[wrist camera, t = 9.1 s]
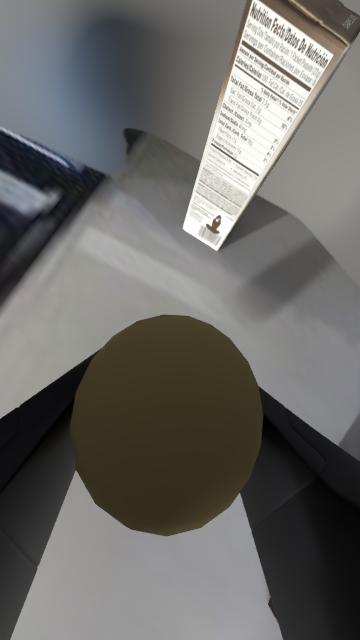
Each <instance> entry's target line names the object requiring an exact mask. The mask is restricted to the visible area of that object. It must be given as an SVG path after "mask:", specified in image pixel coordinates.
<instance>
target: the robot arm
mask: <svg viewBox="0 0 360 640" xmlns="http://www.w3.org/2000/svg"><path fill="white" fill-rule="evenodd" d="M101 349H102V348H101ZM101 349H100V350H101ZM100 350H98V351H97V352H95V353H94V354H93V355H91V356H90V357H88V358H87V359H85V360H84V361H83V362H81V363H80V364H78V365H77V366H75V367H74V368H73V369H71V370H70V371H68V372H67V373H65V374H64V375H63V376H61V377H60V378H58V379H57V380H55V381H54V382H53V383H51V384H50V385H48V386H47V387H45V388H44V389H43V390H41V391H40V392H38V393H37V394H35V395H34V396H33V397H31V398H30V399H28V400H27V401H25V402H24V403H23V404H21V405H20V406H19V408H18V407H17V408H15V409H14V410H12V411H11V412H10V413H8V414H7V415H5V416H4V417H2V418H1V419H0V640H10V638H11V636H12V633H13V631H14V628H15V626H16V623H17V620H18V618H19V615H20V613H21V610H22V607H23V605H24V602H25V600H26V597H27V595H28V592H29V589H30V587H31V584H32V582H33V579H34V576H35V574H36V571H37V567H38V565H39V563H40V561H41V558H42V555H43V553H44V550H45V548H46V545H47V543H48V540H49V537H50V535H51V532H52V530H53V527H54V524H55V522H56V519H57V517H58V514H59V512H60V509H61V506H62V504H63V501H64V499H65V496H66V493H67V491H68V488H69V486H70V483H71V481H72V478H73V475H74V473H75V470H76V467H75V460H74V454H73V448H72V441H71V435H70V425H71V419H72V413H73V407H74V400H75V394H76V391H77V389H78V387H79V384H80V382H81V380H82V378H83V376H84V374H85V372H86V370H87V368H88V366H89V364H90V362H91V360H92V359H93V358H94V357H95V355H96V354H97V353H98V352H99V351H100ZM259 392H260V398H261V404H262V411H263V425H262V437H261V447H260V450H259V453H258V456H257V459H256V462H255V464H254V467H253V470H252V473H251V476H250V478H249V480H248V481H247V483H246V484H245V486H244V487H243V488H242V490H241V491H240V494H241V497H242V500H243V504H244V507H245V511H246V514H247V517H248V521H249V524H250V528H251V530H252V535H253V538H254V542H255V545H256V549H257V552H258V555H259V559H260V562H261V566H262V569H263V572H264V576H265V579H266V583H267V586H268V589H269V593H270V596H271V599H272V603H273V606H274V610H275V613H276V616H277V620H278V623H279V627H280V630H281V633H282V637H283V640H360V461H358V460H357V459H355V458H354V457H353V456H351V455H350V454H348V453H347V452H345V451H344V450H343V449H341V448H340V447H338V446H337V445H336V444H334V443H333V442H331V441H330V440H329V439H327V438H326V437H324V436H323V435H322V434H320V433H319V432H317V431H316V430H315V429H313V428H312V427H310V426H309V425H308V424H307V423H305V422H304V421H303V420H301V419H300V418H299V417H297V416H296V415H295V414H293V413H292V412H291V411H290V410H288V409H287V408H285V407H284V406H283V405H282V404H281V403H279V402H278V401H277V400H276V399H274V398H273V397H272V396H270V395H269V394H268V393H267V392H265V391H264V390H263V389H261V388H260V387H259Z"/></svg>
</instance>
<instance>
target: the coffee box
mask: <svg viewBox="0 0 360 640" xmlns="http://www.w3.org/2000/svg"><path fill="white" fill-rule="evenodd" d="M359 32H360V16H359V15H357V14H356V13H354V12H353V11H351V10H350V9H348V8H346V7H345V6H344V5H343V4H342V3H341V2H340V1H339V0H247V1H246V4H245V8H244V12H243V16H242V19H241V22H240V26H239V29H238V33H237V36H236V40H235V44H234V47H233V51H232V55H231V58H230V61H229V65H228V69H227V72H226V76H225V80H224V83H223V86H222V90H221V94H220V97H219V101H218V104H217V108H216V111H215V115H214V118H213V122H212V125H211V129H210V132H209V136H208V140H207V143H206V147H205V150H204V154H203V158H202V161H201V164H200V168H199V172H198V175H197V179H196V182H195V186H194V189H193V193H192V197H191V200H190V204H189V207H188V211H187V214H186V218H185V222H184V225H183V230H185V231H186V232H188V233H190V234H191V235H193V236H194V237H196V238H197V239H199V240H201V241H202V242H204V243H205V244H207V245H209V246H210V247H212V248H213V249H215V250H216V251H218V250H219V249H220V248H221V246H222V245H223V243H224V242H225V240H226V239H227V237H228V236H229V234H230V233H231V231H232V230H233V228H234V227H235V225H236V224H237V222H238V221H239V219H240V218H241V216H242V215H243V213H244V212H245V210H246V209H247V207H248V206H249V204H250V203H251V201H252V200H253V198H254V197H255V195H256V193H257V192H258V190H259V189H260V187H261V186H262V184H263V183H264V181H265V180H266V178H267V176H268V175H269V173H270V172H271V170H272V169H273V167H274V166H275V164H276V163H277V161H278V160H279V158H280V157H281V155H282V154H283V152H284V151H285V149H286V147H287V146H288V144H289V143H290V141H291V140H292V138H293V137H294V135H295V133H296V132H297V130H298V129H299V127H300V125H301V124H302V122H303V121H304V120H305V118H306V116H307V115H308V113H309V112H310V110H311V109H312V107H313V106H314V104H315V103H316V101H317V99H318V98H319V96H320V95H321V93H322V92H323V90H324V88H325V87H326V86H327V84H328V82H329V81H330V79H331V78H332V76H333V74H334V73H335V71H336V70H337V68H338V66H339V65H340V63H341V62H342V60H343V59H344V57H345V55H346V53H347V52H348V50H349V49H350V47H351V45H352V43H353V42H354V40H355V39H356V37H357V35H358V33H359Z"/></svg>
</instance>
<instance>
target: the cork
mask: <svg viewBox="0 0 360 640" xmlns="http://www.w3.org/2000/svg"><path fill="white" fill-rule="evenodd" d="M262 425H263V411H262V404H261V398H260V392H259V386H258V384H257V382H256V379H255V377H254V375H253V372H252V370H251V368H250V365H249V363H248V361H247V360H246V359H245V357H244V356H243V355H242V353H241V352H240V351H239V350H238V348H237V347H236V346H235V344H234V343H233V342H232V341H231V340H230V338H228V337H227V336H225V335H224V334H223V333H221V332H220V331H219V330H217V329H216V328H215V327H213V326H212V325H211V324H208V323H206V322H203V321H200V320H197V319H195V318H192V317H189V316H179V315H160V316H156V317H152V318H148V319H144V320H140V321H137V322H136V323H134V324H132V325H131V326H129V327H127V328H126V329H124V330H122V331H121V332H119V333H117V334H116V335H114V336H113V337H112V338H111V339H110V340H109V341H108V342H107V343H106V344H105V346H104V347H103V348H102V349H101V350H100V351H99V352H98V353H97V354H96V355H95V357H94V358H93V359H92V360H91V362H90V364H89V366H88V368H87V370H86V372H85V374H84V376H83V378H82V380H81V382H80V384H79V387H78V389H77V391H76V394H75V400H74V407H73V413H72V419H71V425H70V435H71V441H72V448H73V454H74V460H75V467H76V470H77V472H78V474H79V476H80V477H81V479H82V481H83V483H84V484H85V486H86V488H87V490H88V492H89V493H90V495H91V497H92V499H93V500H94V502H95V504H96V505H98V506H99V507H101V508H102V509H103V510H105V511H106V512H107V513H109V514H110V515H111V516H113V517H114V518H115V519H117V520H118V521H119V522H121V523H122V524H123V525H125V526H126V527H128V528H130V529H131V530H136V531H142V532H147V533H152V534H157V535H162V536H170V535H174V534H178V533H182V532H186V531H190V530H194V529H198V528H201V527H203V526H204V525H205V524H207V523H208V522H209V521H211V520H212V519H213V518H215V517H216V516H218V515H219V514H220V513H222V512H223V511H224V510H226V509H227V508H229V507H230V505H231V504H232V503H233V501H234V500H235V498H236V497H237V495H238V494H239V493H240V491H241V490H242V488H243V487H244V486H245V484H246V483H247V481H248V480H249V478H250V476H251V473H252V470H253V467H254V464H255V462H256V459H257V456H258V453H259V450H260V447H261V437H262Z"/></svg>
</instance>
